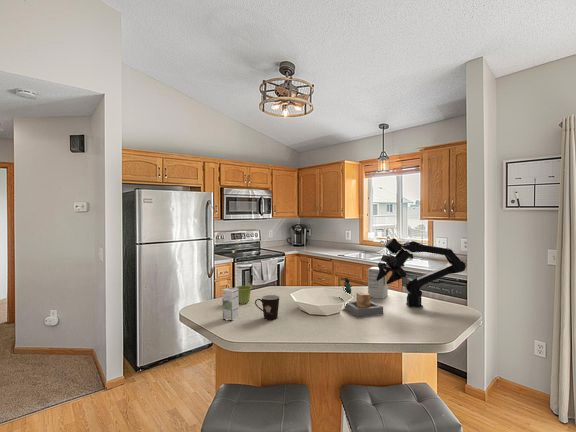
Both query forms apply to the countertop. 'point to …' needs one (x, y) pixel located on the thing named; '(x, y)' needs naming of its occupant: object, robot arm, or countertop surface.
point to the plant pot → (244, 294)
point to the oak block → (363, 300)
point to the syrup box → (230, 303)
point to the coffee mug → (269, 306)
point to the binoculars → (347, 286)
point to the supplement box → (377, 284)
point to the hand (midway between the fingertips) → (381, 281)
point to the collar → (364, 309)
